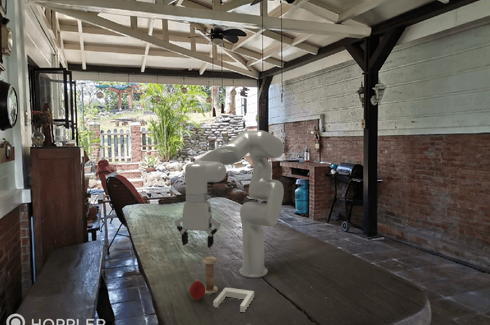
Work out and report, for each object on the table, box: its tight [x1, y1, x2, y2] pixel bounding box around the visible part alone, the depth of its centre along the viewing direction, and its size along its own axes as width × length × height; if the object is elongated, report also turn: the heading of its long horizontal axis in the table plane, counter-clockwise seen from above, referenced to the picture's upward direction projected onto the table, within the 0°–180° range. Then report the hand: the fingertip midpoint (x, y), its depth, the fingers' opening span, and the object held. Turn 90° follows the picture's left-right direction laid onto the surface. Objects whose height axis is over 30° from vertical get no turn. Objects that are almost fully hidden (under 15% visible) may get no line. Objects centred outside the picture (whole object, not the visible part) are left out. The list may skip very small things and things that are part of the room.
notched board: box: [212, 287, 255, 313], centre depth 126 cm, size 12×12×2 cm
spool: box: [201, 256, 219, 293], centre depth 135 cm, size 6×6×13 cm
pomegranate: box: [188, 278, 206, 301], centre depth 128 cm, size 6×6×8 cm
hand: (197, 245), depth 124 cm, fingers open, 9 cm apart
